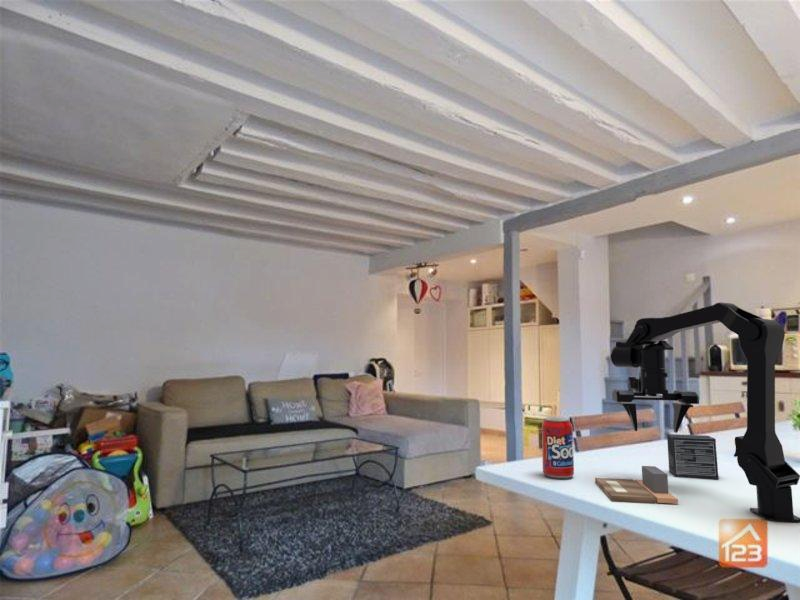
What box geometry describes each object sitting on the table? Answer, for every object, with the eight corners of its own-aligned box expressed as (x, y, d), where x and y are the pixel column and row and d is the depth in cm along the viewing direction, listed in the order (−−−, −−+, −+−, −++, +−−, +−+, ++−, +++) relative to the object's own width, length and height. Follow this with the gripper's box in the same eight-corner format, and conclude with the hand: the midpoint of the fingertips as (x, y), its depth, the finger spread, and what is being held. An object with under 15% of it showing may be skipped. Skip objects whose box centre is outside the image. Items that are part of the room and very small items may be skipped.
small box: (711, 474, 135) (709, 434, 136) (719, 480, 128) (717, 438, 129) (668, 471, 137) (666, 432, 139) (674, 477, 131) (672, 436, 132)
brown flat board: (655, 503, 107) (655, 497, 108) (612, 501, 109) (611, 495, 109) (633, 484, 123) (633, 479, 123) (595, 482, 124) (595, 477, 125)
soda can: (555, 471, 136) (553, 415, 138) (580, 477, 130) (578, 419, 131) (536, 475, 132) (535, 417, 133) (561, 481, 125) (560, 421, 127)
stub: (678, 503, 107) (676, 478, 107) (657, 502, 107) (656, 477, 108) (652, 484, 122) (651, 462, 123) (634, 483, 123) (633, 462, 124)
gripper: (680, 368, 131) (684, 428, 129) (606, 367, 134) (608, 425, 133) (698, 369, 120) (701, 435, 118) (616, 368, 123) (618, 432, 122)
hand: (655, 431), depth 123 cm, fingers open, 9 cm apart
